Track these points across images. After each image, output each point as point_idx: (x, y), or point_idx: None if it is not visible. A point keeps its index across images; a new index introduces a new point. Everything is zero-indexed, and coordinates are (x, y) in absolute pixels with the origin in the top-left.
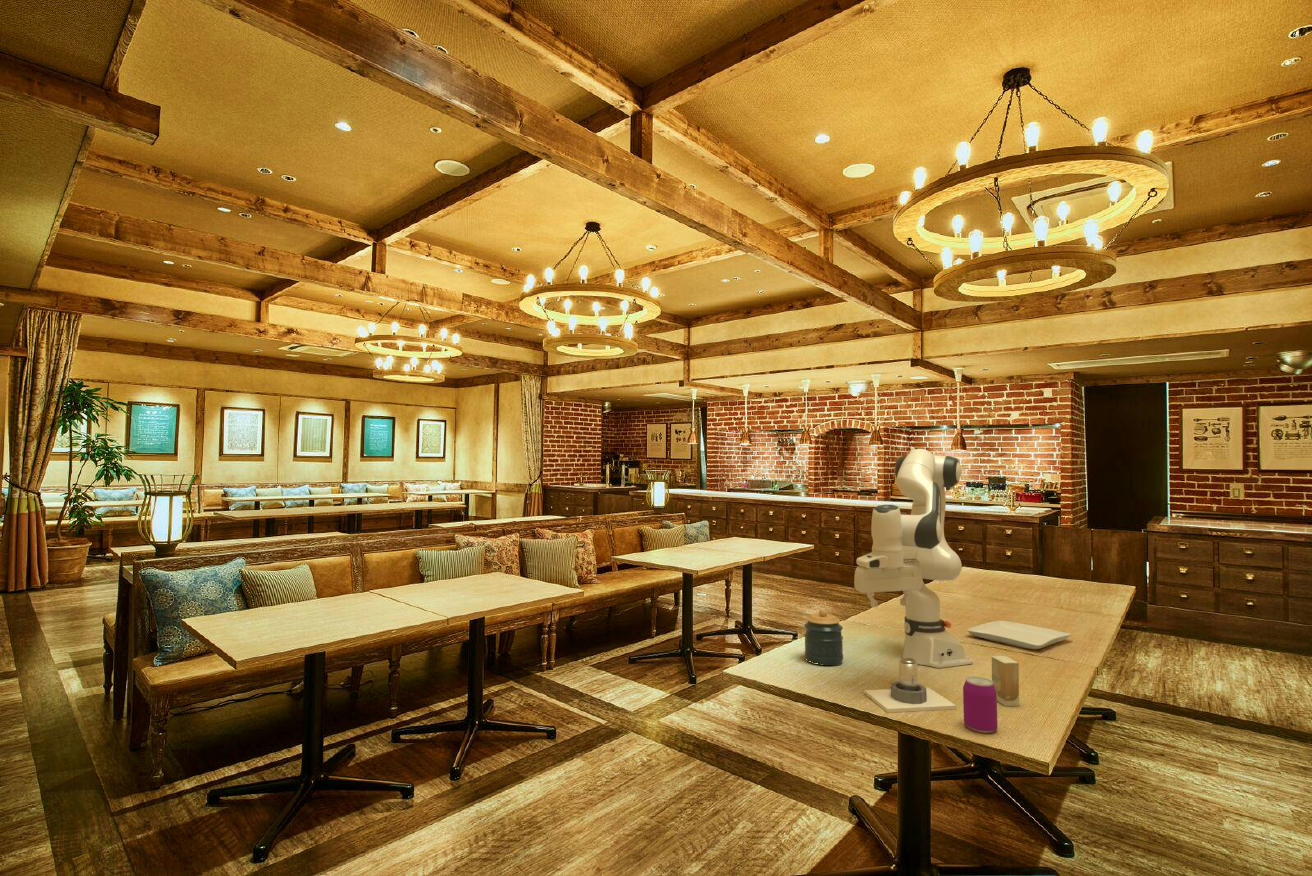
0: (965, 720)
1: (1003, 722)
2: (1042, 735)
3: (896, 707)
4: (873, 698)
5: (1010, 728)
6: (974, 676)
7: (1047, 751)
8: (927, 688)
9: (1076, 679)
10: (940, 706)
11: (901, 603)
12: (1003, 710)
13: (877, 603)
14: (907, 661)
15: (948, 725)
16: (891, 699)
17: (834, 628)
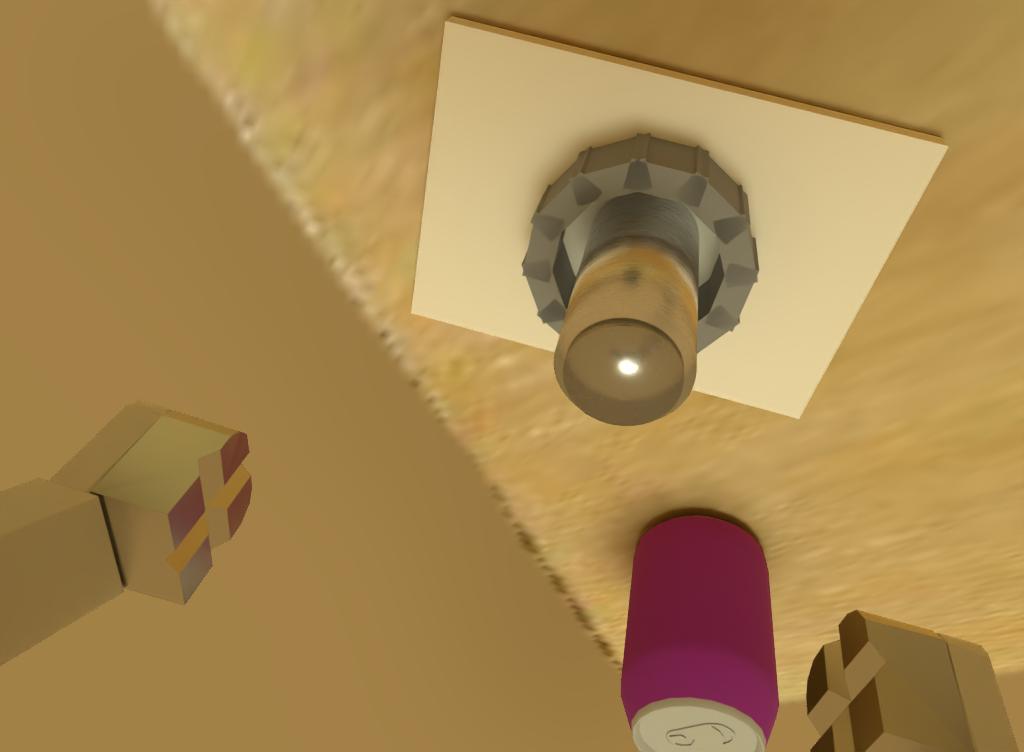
0: (638, 552)
1: (852, 563)
2: None
3: (468, 318)
4: (430, 157)
5: (813, 597)
6: (732, 716)
7: None
8: (921, 163)
9: None
10: (708, 393)
11: (845, 661)
12: (1020, 504)
13: (201, 566)
14: (589, 400)
15: (592, 490)
16: (518, 224)
17: None
